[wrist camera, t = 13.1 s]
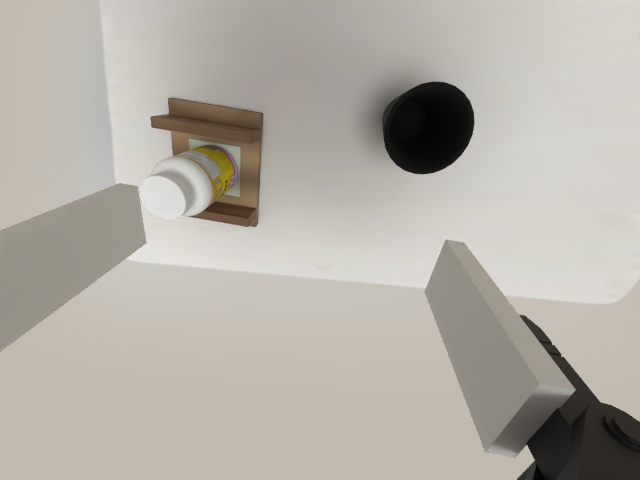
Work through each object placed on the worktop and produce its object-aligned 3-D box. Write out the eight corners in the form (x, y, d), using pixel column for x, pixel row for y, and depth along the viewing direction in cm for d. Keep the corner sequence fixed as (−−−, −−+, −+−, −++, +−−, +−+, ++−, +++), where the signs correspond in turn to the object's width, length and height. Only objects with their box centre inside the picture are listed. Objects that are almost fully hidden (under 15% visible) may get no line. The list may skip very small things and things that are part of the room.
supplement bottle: (215, 200, 42) (166, 240, 31) (182, 162, 40) (115, 191, 28) (248, 174, 40) (208, 207, 28) (215, 133, 37) (156, 150, 26)
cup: (394, 163, 38) (411, 190, 28) (362, 114, 36) (367, 122, 25) (448, 125, 36) (490, 139, 25) (417, 70, 33) (448, 59, 23)
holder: (172, 98, 37) (148, 98, 33) (262, 113, 37) (251, 116, 33) (182, 211, 45) (163, 224, 40) (257, 224, 44) (247, 238, 40)
